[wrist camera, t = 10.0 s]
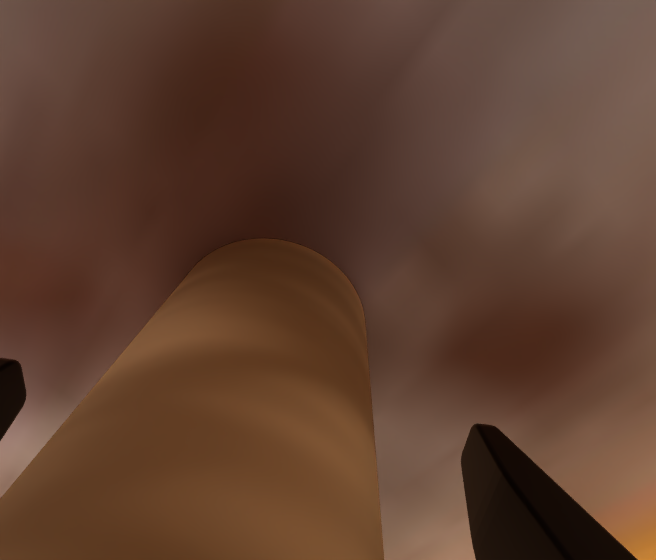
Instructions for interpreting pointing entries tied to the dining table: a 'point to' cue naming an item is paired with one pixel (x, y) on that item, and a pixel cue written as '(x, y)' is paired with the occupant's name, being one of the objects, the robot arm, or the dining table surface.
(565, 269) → the dining table surface
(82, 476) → the wooden peg
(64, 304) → the dining table surface
